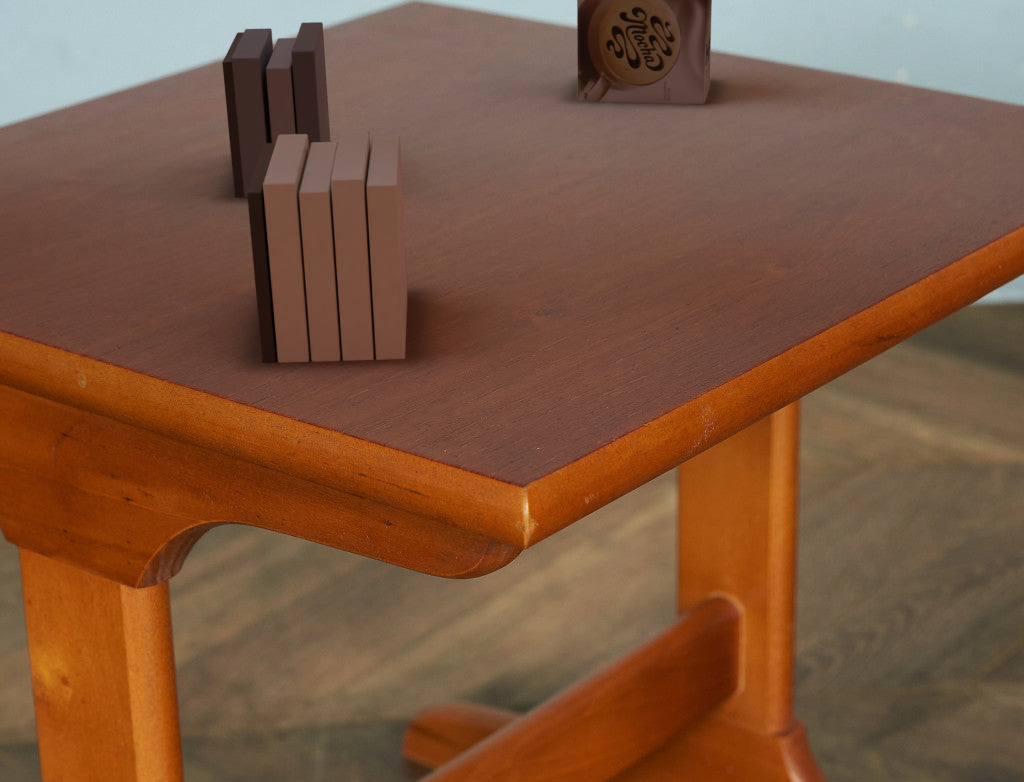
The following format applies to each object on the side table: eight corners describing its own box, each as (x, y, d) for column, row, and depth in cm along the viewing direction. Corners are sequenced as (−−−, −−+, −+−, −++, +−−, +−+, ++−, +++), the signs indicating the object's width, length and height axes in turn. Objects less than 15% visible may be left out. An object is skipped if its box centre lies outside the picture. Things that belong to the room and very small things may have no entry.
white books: (262, 366, 75) (245, 181, 71) (277, 304, 82) (262, 132, 78) (405, 362, 75) (396, 177, 71) (407, 300, 82) (399, 129, 78)
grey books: (235, 200, 97) (221, 52, 93) (248, 162, 104) (236, 23, 100) (324, 198, 98) (314, 50, 94) (331, 160, 105) (322, 21, 101)
